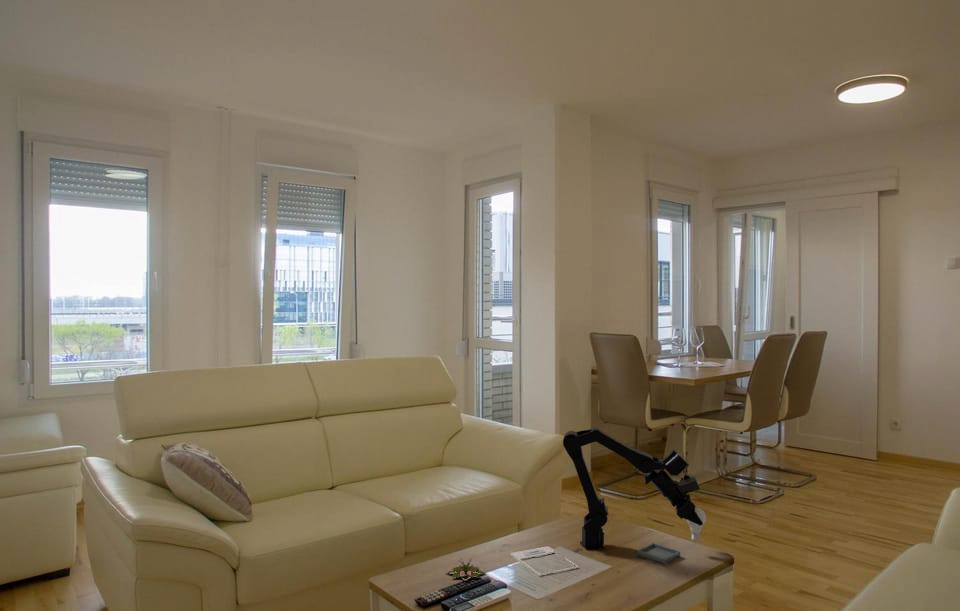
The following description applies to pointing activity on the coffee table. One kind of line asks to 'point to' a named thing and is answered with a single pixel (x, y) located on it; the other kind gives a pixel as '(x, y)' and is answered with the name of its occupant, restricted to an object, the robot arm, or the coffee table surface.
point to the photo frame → (534, 553)
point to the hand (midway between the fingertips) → (700, 521)
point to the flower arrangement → (466, 570)
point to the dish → (658, 553)
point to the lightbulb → (695, 527)
